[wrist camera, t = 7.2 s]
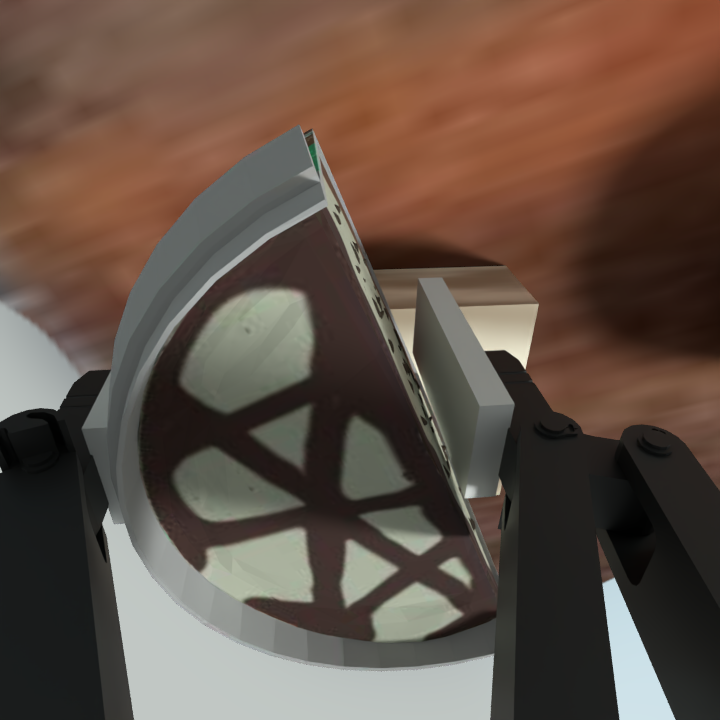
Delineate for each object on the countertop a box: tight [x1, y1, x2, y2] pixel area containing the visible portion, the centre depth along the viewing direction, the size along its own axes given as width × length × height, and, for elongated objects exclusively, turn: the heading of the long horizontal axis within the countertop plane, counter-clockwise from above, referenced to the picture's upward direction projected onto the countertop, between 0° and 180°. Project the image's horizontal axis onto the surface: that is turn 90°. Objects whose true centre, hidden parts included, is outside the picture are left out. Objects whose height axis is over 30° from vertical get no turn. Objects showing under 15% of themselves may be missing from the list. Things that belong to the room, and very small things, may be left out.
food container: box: [107, 125, 499, 671], centre depth 14 cm, size 12×6×10 cm, turn 22°
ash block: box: [373, 266, 539, 495], centre depth 38 cm, size 16×16×6 cm
